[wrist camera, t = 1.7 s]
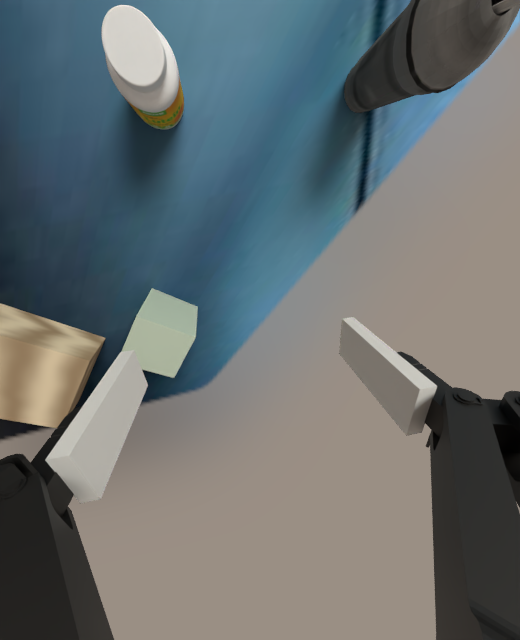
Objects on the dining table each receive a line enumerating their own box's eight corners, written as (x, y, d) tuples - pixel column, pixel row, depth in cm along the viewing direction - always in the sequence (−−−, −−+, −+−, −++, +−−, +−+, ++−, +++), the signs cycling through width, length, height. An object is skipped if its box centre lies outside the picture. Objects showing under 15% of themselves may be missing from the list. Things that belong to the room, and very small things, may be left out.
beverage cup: (393, 40, 26) (756, -258, 9) (386, 122, 30) (633, 23, 13) (333, 48, 25) (602, -258, 8) (333, 131, 29) (520, 40, 12)
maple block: (-28, 375, 34) (-69, 407, 29) (-12, 298, 30) (-56, 319, 25) (79, 398, 40) (61, 428, 35) (106, 336, 36) (89, 360, 31)
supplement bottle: (151, 139, 26) (125, 113, 17) (117, 76, 23) (68, 9, 15) (194, 117, 26) (189, 80, 17) (165, 51, 23) (143, -30, 15)
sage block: (136, 326, 36) (117, 362, 28) (152, 288, 34) (136, 316, 26) (180, 341, 39) (173, 378, 31) (197, 306, 36) (195, 337, 29)
